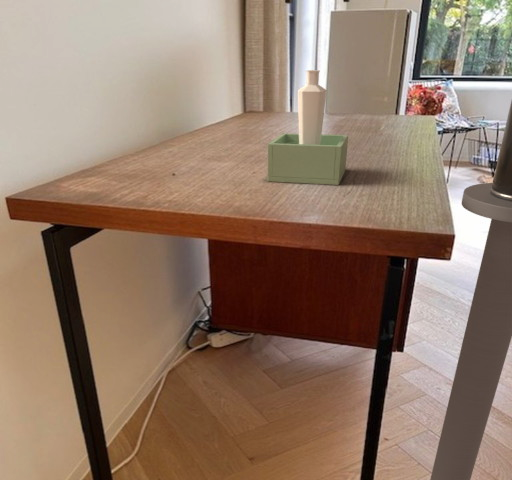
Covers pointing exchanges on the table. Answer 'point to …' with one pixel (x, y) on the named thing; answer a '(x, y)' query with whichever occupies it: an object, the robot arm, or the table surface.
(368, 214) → the table surface
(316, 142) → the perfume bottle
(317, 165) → the bin
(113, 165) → the table surface
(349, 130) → the table surface
